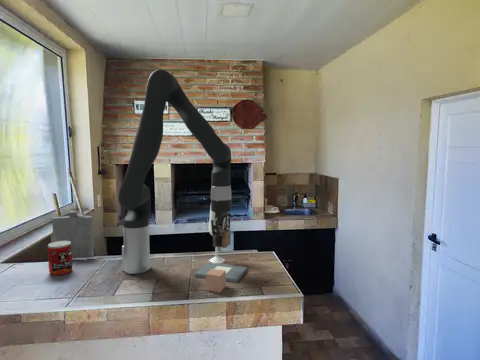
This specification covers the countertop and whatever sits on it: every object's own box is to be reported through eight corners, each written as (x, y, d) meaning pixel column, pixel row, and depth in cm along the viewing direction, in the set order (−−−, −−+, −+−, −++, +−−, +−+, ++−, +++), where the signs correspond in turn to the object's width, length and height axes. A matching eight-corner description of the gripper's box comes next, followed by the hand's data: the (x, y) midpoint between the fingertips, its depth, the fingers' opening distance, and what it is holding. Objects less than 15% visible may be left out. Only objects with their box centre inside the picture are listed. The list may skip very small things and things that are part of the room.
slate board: (195, 276, 115) (195, 272, 115) (208, 265, 126) (208, 261, 126) (236, 282, 110) (236, 278, 109) (247, 270, 121) (247, 266, 121)
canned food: (51, 277, 114) (50, 247, 113) (47, 271, 120) (45, 243, 119) (75, 272, 119) (73, 243, 118) (69, 266, 125) (68, 239, 124)
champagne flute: (213, 257, 136) (213, 201, 134) (227, 259, 133) (227, 202, 131) (205, 262, 130) (205, 204, 127) (220, 264, 127) (220, 205, 125)
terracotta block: (206, 290, 103) (205, 274, 103) (212, 284, 108) (212, 268, 108) (220, 292, 102) (220, 276, 101) (225, 286, 107) (225, 270, 106)
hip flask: (52, 259, 133) (50, 212, 131) (57, 256, 137) (54, 210, 135) (92, 257, 135) (90, 211, 134) (95, 254, 139) (93, 209, 138)
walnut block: (212, 246, 115) (212, 231, 115) (218, 242, 120) (218, 228, 119) (225, 247, 114) (225, 232, 113) (230, 243, 118) (230, 229, 118)
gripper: (219, 195, 123) (219, 237, 125) (203, 200, 110) (204, 248, 111) (237, 195, 121) (237, 239, 122) (223, 201, 107) (224, 250, 109)
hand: (221, 243), depth 117 cm, fingers closed on walnut block, 5 cm apart
